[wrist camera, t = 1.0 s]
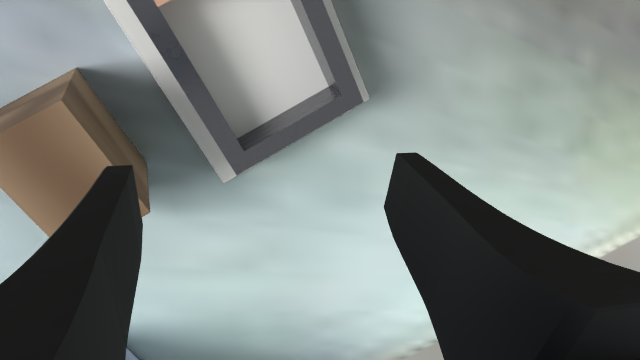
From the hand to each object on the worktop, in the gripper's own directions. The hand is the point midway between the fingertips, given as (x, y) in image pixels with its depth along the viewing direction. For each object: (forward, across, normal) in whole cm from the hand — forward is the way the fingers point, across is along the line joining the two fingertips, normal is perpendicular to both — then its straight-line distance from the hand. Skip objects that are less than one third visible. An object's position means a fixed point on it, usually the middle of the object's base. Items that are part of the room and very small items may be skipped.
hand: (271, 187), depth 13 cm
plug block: (+13, +8, +6) cm, 16 cm away
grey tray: (+15, -1, +2) cm, 15 cm away
